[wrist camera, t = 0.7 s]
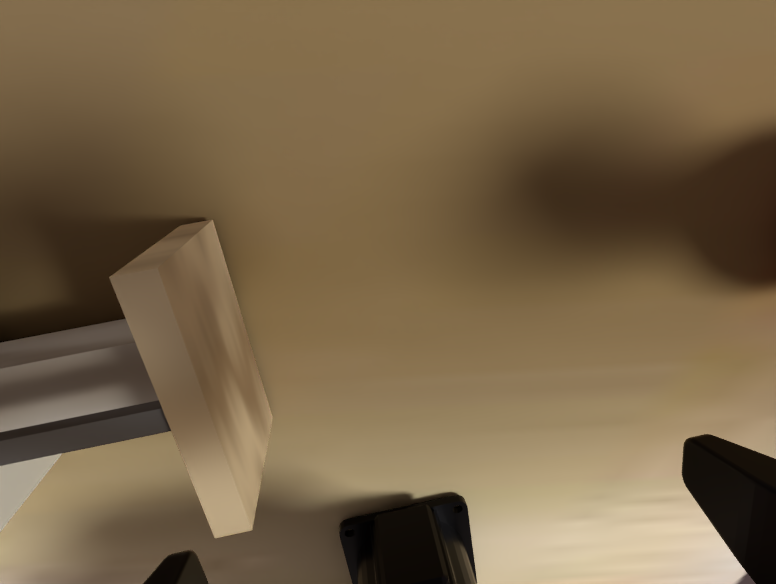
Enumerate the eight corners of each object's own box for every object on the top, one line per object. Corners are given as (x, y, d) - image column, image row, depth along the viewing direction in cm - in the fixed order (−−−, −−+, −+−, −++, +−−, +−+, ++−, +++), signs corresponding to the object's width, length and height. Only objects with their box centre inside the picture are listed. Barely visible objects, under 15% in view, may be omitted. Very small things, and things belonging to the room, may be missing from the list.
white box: (273, 418, 21) (252, 530, 15) (-84, 491, 20) (-248, 640, 14) (212, 219, 17) (157, 268, 12) (-219, 297, 16) (-500, 390, 11)
